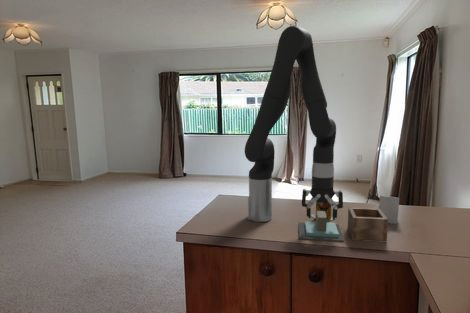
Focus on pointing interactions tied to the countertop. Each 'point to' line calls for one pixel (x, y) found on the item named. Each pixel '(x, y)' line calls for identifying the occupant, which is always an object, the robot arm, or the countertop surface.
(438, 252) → the countertop surface
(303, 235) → the mat
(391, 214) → the grey rectangular block
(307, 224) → the lid
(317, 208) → the condiment
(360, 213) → the storage box
